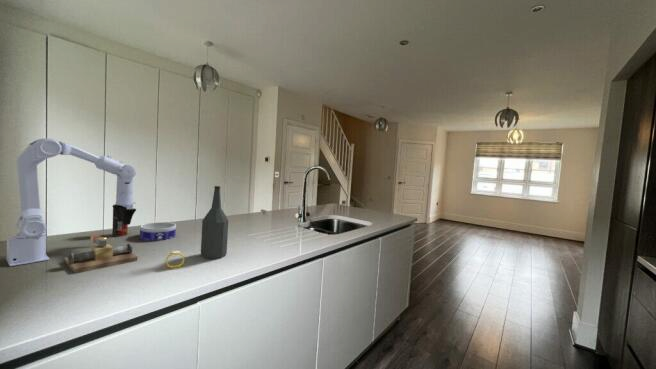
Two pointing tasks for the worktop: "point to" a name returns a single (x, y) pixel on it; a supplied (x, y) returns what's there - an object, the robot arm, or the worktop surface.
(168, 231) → the dog bowl
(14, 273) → the worktop surface
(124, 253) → the valve board
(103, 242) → the valve lever
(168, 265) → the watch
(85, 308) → the worktop surface
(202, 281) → the worktop surface
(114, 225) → the deodorant
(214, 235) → the bottle
